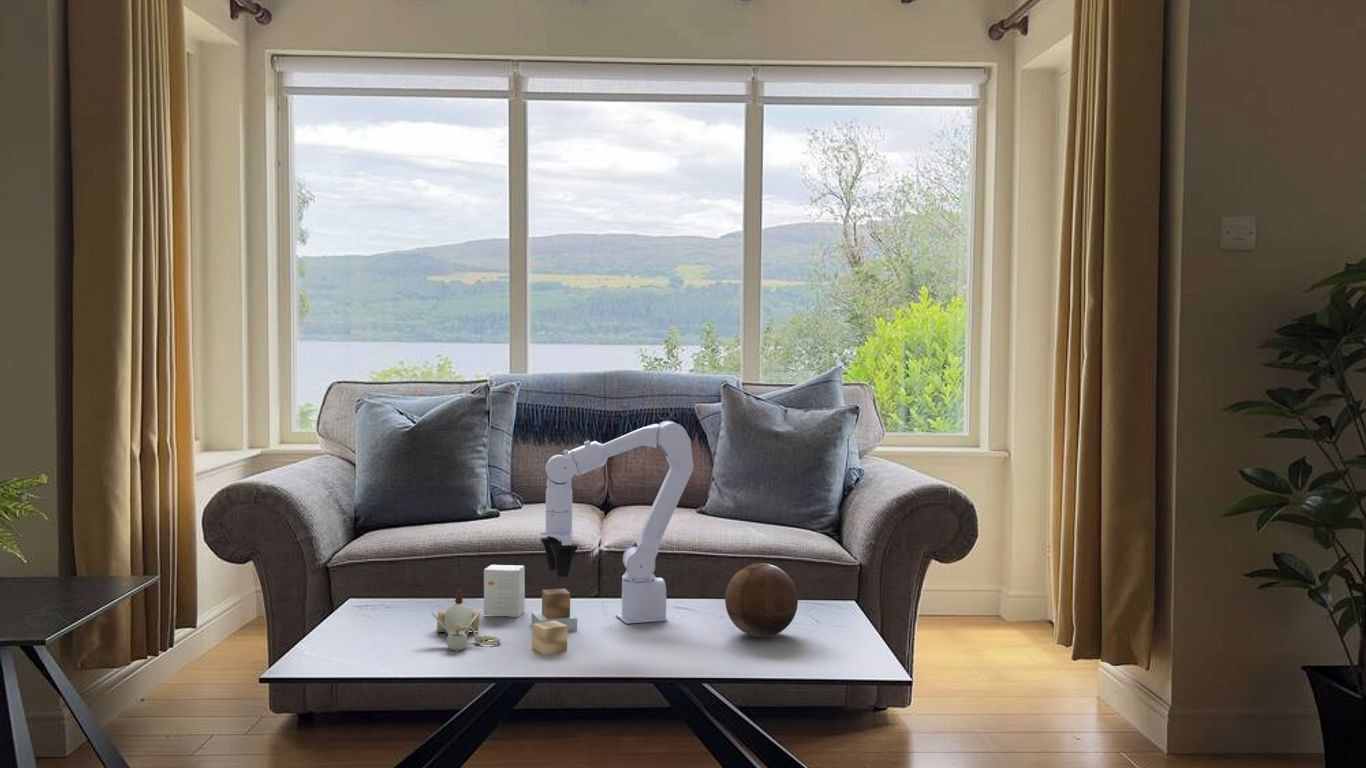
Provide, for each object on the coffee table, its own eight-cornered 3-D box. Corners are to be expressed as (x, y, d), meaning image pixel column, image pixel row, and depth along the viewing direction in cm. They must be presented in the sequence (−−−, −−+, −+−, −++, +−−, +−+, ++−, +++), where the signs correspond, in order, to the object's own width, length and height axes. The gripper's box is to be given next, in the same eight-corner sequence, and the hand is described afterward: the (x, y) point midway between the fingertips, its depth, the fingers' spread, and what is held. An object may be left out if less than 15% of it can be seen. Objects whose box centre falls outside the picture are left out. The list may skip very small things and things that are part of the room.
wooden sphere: (811, 636, 220) (812, 564, 219) (766, 650, 209) (767, 574, 208) (755, 623, 230) (756, 554, 230) (709, 635, 219) (710, 563, 219)
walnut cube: (564, 611, 227) (565, 588, 227) (569, 617, 223) (570, 593, 223) (541, 613, 226) (542, 589, 226) (546, 618, 221) (546, 594, 221)
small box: (525, 611, 237) (525, 565, 237) (518, 618, 232) (519, 570, 231) (490, 610, 238) (490, 564, 238) (483, 616, 232) (483, 568, 232)
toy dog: (446, 655, 203) (447, 608, 202) (415, 633, 218) (415, 590, 218) (506, 647, 209) (507, 601, 209) (471, 626, 225) (472, 584, 225)
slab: (567, 623, 230) (568, 609, 230) (577, 632, 222) (577, 618, 222) (531, 625, 227) (531, 612, 227) (539, 635, 219) (539, 620, 219)
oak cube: (554, 645, 210) (554, 620, 210) (567, 651, 206) (567, 625, 206) (532, 649, 207) (532, 623, 207) (544, 655, 203) (544, 629, 203)
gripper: (533, 506, 234) (532, 567, 235) (548, 516, 221) (548, 580, 221) (564, 505, 237) (563, 566, 237) (581, 514, 223) (580, 578, 224)
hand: (558, 573), depth 229 cm, fingers open, 7 cm apart
